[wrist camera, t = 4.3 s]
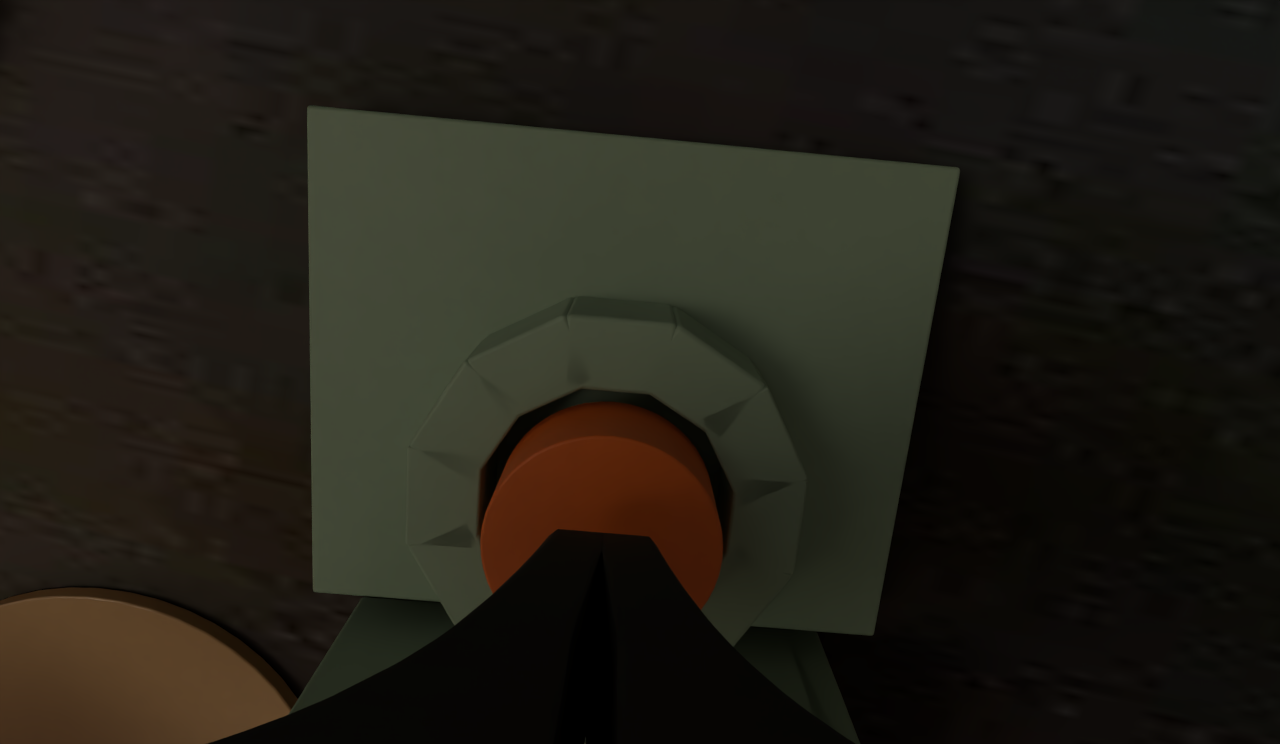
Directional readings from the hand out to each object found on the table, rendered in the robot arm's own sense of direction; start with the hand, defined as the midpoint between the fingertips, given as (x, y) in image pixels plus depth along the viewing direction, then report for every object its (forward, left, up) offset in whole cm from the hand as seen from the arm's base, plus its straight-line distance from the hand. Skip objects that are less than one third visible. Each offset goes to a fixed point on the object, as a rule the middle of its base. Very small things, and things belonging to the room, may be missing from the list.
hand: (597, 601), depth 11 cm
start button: (0, 0, -3) cm, 3 cm away
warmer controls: (+2, 0, -6) cm, 6 cm away
